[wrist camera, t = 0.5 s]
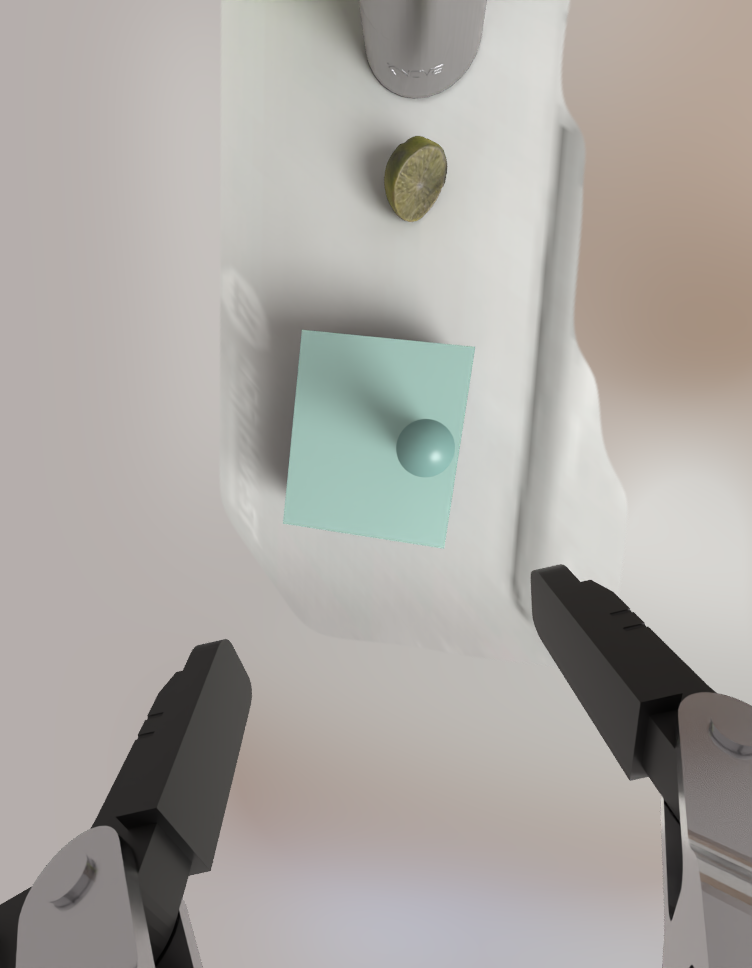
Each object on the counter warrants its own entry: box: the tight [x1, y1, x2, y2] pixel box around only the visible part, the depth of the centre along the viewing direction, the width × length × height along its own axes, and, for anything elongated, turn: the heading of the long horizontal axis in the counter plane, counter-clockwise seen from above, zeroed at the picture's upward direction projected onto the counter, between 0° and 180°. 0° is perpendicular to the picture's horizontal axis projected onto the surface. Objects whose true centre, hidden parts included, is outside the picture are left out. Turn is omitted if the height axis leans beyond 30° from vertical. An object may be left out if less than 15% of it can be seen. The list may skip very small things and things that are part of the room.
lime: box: [384, 136, 447, 222], centre depth 28 cm, size 4×5×5 cm
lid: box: [283, 330, 475, 549], centre depth 22 cm, size 14×12×12 cm
